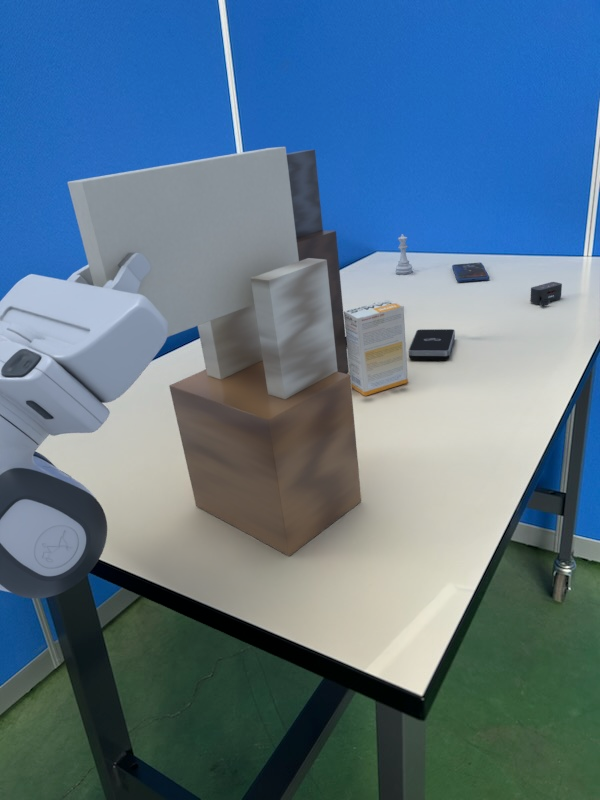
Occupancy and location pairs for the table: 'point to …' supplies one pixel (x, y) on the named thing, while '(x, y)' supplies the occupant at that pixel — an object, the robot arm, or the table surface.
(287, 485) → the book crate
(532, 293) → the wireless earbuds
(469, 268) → the smartphone
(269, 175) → the white book
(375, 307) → the supplement box
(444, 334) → the external hard drive
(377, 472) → the table surface
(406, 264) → the chess piece
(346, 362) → the bookstand
